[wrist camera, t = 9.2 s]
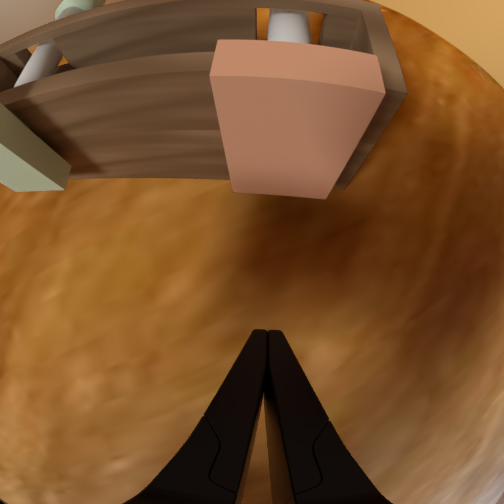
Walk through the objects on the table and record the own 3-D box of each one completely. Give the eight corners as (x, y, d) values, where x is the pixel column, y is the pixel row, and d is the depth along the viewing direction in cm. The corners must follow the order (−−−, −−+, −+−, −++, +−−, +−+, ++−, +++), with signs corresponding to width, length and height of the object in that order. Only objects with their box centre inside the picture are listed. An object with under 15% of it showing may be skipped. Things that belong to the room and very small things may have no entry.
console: (344, 189, 18) (407, 93, 9) (32, 181, 18) (-49, 125, 9) (340, 109, 19) (378, 4, 10) (55, 114, 19) (-6, 47, 10)
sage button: (65, 189, 15) (-29, 120, 7) (16, 191, 15) (-70, 139, 7) (128, 26, 17) (97, -50, 9) (82, 37, 17) (45, -29, 10)
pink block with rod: (325, 199, 14) (385, 93, 6) (233, 192, 14) (209, 76, 7) (316, 22, 17) (331, -68, 9) (254, 17, 17) (252, -75, 9)
